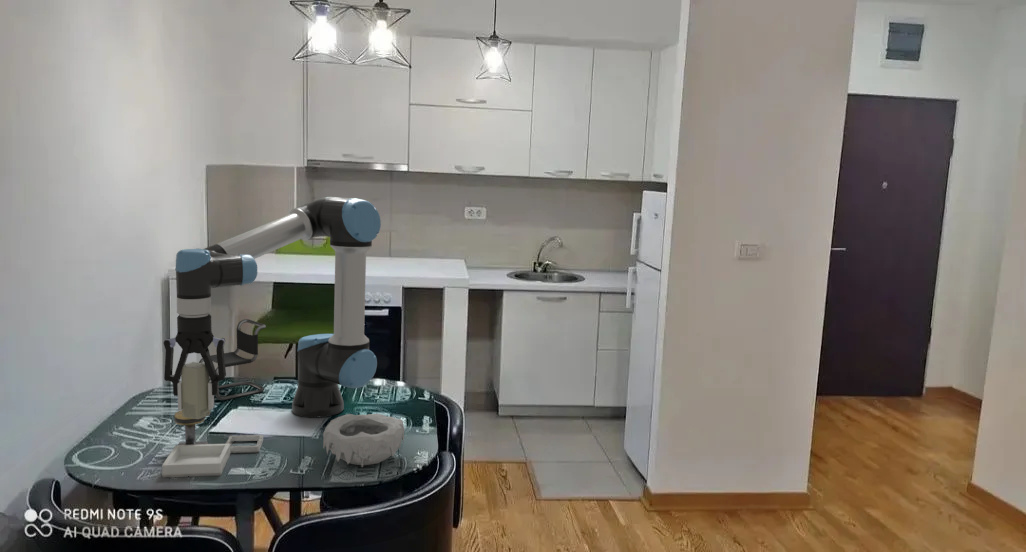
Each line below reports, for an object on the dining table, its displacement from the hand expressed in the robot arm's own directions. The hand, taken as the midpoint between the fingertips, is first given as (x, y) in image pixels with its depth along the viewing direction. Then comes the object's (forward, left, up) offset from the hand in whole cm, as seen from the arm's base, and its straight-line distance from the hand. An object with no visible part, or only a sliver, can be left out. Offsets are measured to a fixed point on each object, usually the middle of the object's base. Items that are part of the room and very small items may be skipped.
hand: (196, 407), depth 185 cm
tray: (0, 0, -15) cm, 15 cm away
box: (0, 0, -2) cm, 2 cm away
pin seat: (-9, -12, -15) cm, 21 cm away
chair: (+2, -61, -15) cm, 63 cm away
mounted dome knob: (+4, -11, -15) cm, 19 cm away
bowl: (-40, 0, -15) cm, 43 cm away
